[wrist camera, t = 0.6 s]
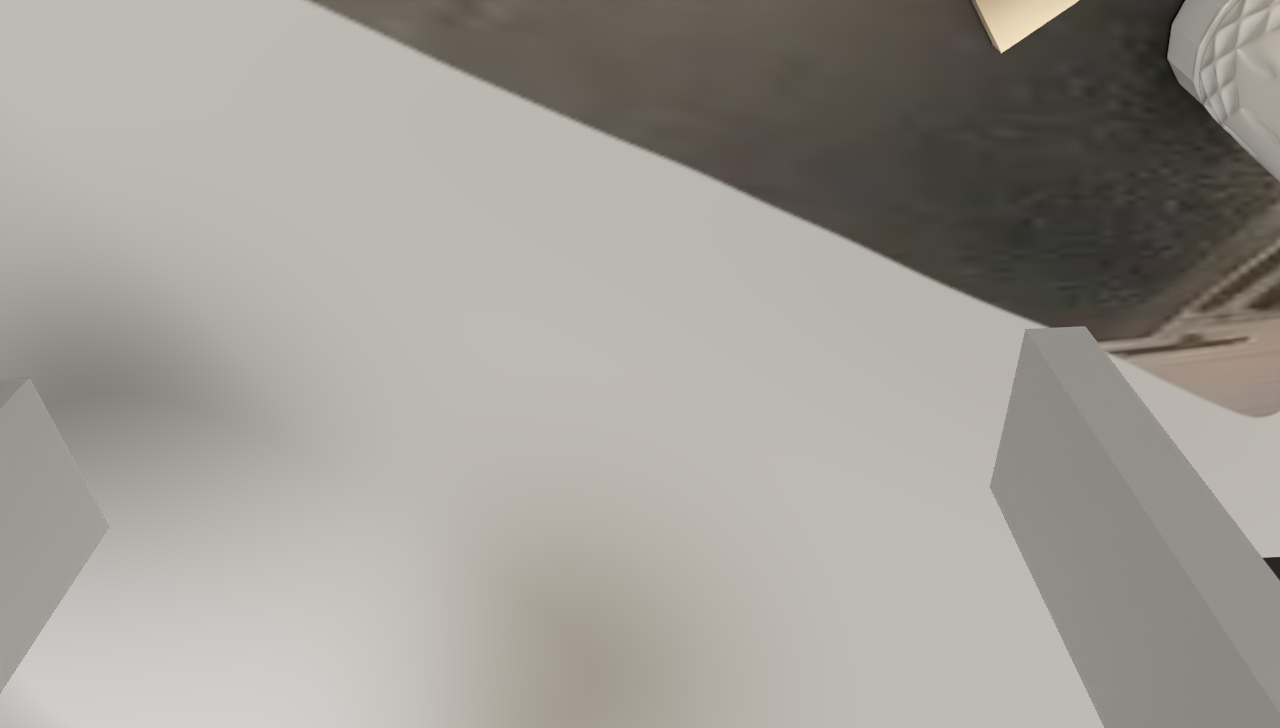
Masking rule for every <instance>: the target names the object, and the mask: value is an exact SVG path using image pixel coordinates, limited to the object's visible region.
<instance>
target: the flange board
mask: <svg viewBox="0 0 1280 728" xmlns="http://www.w3.org/2000/svg"><path fill="white" fill-rule="evenodd" d="M971 1H972V3H973V5H974V7H975V9H976V11H977V13H978V15H979V17H980V19H981V21H982V23H983V25H984V27H985V29H986V31H987V33H988V35H989V37H990V39H991V41H992V44H993V45H994V46H995V47H996V48H997V49H998V50H999V51H1000V52H1001V53H1002V52H1004V51H1005V50H1007V49H1008V48H1010V47H1011V46H1013V45H1014V44H1016V43H1017V42H1019V41H1020V40H1022V39H1023V38H1025V37H1026V36H1027V35H1029V34H1030V33H1032V32H1033V31H1035V30H1036V29H1038V28H1039V27H1041V26H1042V25H1044V24H1045V23H1047V22H1048V21H1050V20H1051V19H1053V18H1054V17H1056V16H1057V15H1058V14H1060V13H1061V12H1063V11H1064V10H1066V9H1067V8H1069V7H1070V6H1072V5H1073V4H1075V3H1076V2H1078V1H1079V0H971Z"/></svg>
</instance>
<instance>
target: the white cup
mask: <svg viewBox="0 0 1280 728" xmlns="http://www.w3.org/2000/svg"><path fill="white" fill-rule="evenodd" d="M1167 59H1168V61H1169V63H1170V65H1171V68H1172V70H1173V72H1174V74H1175V76H1176V78H1177V80H1178V82H1179V84H1180V85H1181V86H1182V87H1184V88H1185V89H1186V90H1187V91H1188V92H1189V93H1190V94H1191V95H1192V96H1193V97H1195V98H1196V99H1197V100H1198V101H1199V102H1200V103H1201V104H1202V105H1203V106H1204V107H1205V108H1206V110H1207V111H1208V112H1209V113H1210V115H1211V116H1212V117H1213V118H1214V119H1215V120H1216V122H1217V123H1218V124H1219V125H1220V126H1221V127H1222V128H1224V129H1225V130H1226V131H1227V132H1228V133H1229V134H1230V135H1231V136H1232V137H1233V138H1234V139H1235V140H1236V141H1237V142H1238V144H1239V145H1240V146H1241V147H1242V148H1243V149H1244V150H1246V151H1247V152H1248V153H1249V154H1250V155H1251V156H1252V157H1253V158H1254V159H1255V160H1256V161H1257V162H1258V163H1259V164H1261V165H1262V166H1263V167H1264V168H1265V169H1266V170H1267V171H1268V172H1269V173H1270V174H1271V175H1272V176H1273V177H1274V178H1276V179H1277V180H1278V181H1279V182H1280V0H1185V1H1184V3H1183V5H1182V7H1181V9H1180V10H1179V12H1178V14H1177V16H1176V17H1175V19H1174V21H1173V23H1172V26H1171V33H1170V40H1169V47H1168V54H1167Z"/></svg>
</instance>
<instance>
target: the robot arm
mask: <svg viewBox="0 0 1280 728" xmlns="http://www.w3.org/2000/svg"><path fill="white" fill-rule="evenodd" d="M990 488H991V490H992V493H993V495H994V497H995V499H996V501H997V503H998V505H999V507H1000V509H1001V511H1002V513H1003V516H1004V518H1005V520H1006V522H1007V524H1008V526H1009V528H1010V530H1011V532H1012V535H1013V537H1014V538H1015V541H1016V543H1017V545H1018V547H1019V549H1020V551H1021V553H1022V556H1023V558H1024V560H1025V562H1026V564H1027V566H1028V568H1029V570H1030V572H1031V574H1032V576H1033V578H1034V581H1035V583H1036V585H1037V587H1038V589H1039V591H1040V593H1041V595H1042V598H1043V600H1044V602H1045V604H1046V606H1047V608H1048V610H1049V612H1050V614H1051V616H1052V619H1053V620H1054V623H1055V625H1056V627H1057V629H1058V631H1059V633H1060V635H1061V637H1062V640H1063V642H1064V644H1065V646H1066V648H1067V650H1068V652H1069V654H1070V656H1071V658H1072V661H1073V663H1074V664H1075V667H1076V669H1077V671H1078V673H1079V675H1080V677H1081V679H1082V682H1083V683H1084V686H1085V688H1086V690H1087V692H1088V694H1089V696H1090V698H1091V700H1092V703H1093V704H1094V707H1095V709H1096V711H1097V713H1098V715H1099V717H1100V719H1101V721H1102V724H1103V726H1104V728H1280V557H1274V558H1273V557H1272V558H1262V557H1261V556H1260V554H1259V553H1258V552H1257V550H1256V549H1255V548H1254V546H1253V545H1252V544H1251V542H1250V541H1249V540H1248V539H1247V537H1246V536H1245V535H1244V533H1243V532H1242V531H1241V529H1240V528H1239V527H1238V526H1237V524H1236V523H1235V522H1234V520H1233V519H1232V518H1231V516H1230V515H1229V514H1228V512H1227V511H1226V510H1225V509H1224V507H1223V506H1222V505H1221V503H1220V502H1219V501H1218V499H1217V498H1216V497H1215V496H1214V494H1213V493H1212V491H1211V490H1210V489H1209V488H1208V486H1207V485H1206V484H1205V482H1204V481H1203V480H1202V478H1201V477H1200V476H1199V475H1198V473H1197V472H1196V471H1195V469H1194V468H1193V467H1192V465H1191V464H1190V463H1189V462H1188V460H1187V459H1186V457H1185V456H1184V455H1183V454H1182V452H1181V451H1180V450H1179V448H1178V447H1177V446H1176V444H1175V443H1174V442H1173V441H1172V439H1171V438H1170V437H1169V435H1168V434H1167V433H1166V431H1165V430H1164V429H1163V427H1162V426H1161V425H1160V424H1159V422H1158V421H1157V420H1156V418H1155V417H1154V416H1153V414H1152V413H1151V412H1150V411H1149V409H1148V408H1147V407H1146V405H1145V404H1144V403H1143V401H1142V400H1141V399H1140V397H1139V396H1138V395H1137V393H1136V392H1135V391H1134V390H1133V388H1132V387H1131V386H1130V384H1129V383H1128V382H1127V380H1126V379H1125V378H1124V377H1123V375H1122V374H1121V373H1120V371H1119V370H1118V369H1117V367H1116V366H1115V365H1114V363H1113V362H1112V361H1111V360H1110V358H1109V357H1108V356H1107V354H1106V353H1105V352H1104V350H1103V349H1102V348H1101V346H1100V345H1099V344H1098V342H1097V341H1096V340H1095V339H1094V337H1093V336H1092V335H1091V333H1090V332H1089V331H1088V329H1087V328H1086V327H1085V326H1083V327H1063V328H1042V329H1026V330H1025V334H1024V339H1023V343H1022V347H1021V352H1020V356H1019V361H1018V366H1017V369H1016V374H1015V379H1014V383H1013V387H1012V392H1011V396H1010V401H1009V405H1008V409H1007V414H1006V418H1005V423H1004V427H1003V432H1002V437H1001V441H1000V445H999V449H998V454H997V458H996V463H995V467H994V472H993V476H992V481H991V485H990ZM108 528H109V525H108V523H107V521H106V519H105V517H104V516H103V514H102V512H101V510H100V508H99V506H98V504H97V502H96V501H95V499H94V497H93V495H92V493H91V491H90V489H89V487H88V486H87V484H86V482H85V480H84V478H83V476H82V475H81V473H80V471H79V469H78V467H77V465H76V463H75V461H74V459H73V458H72V456H71V454H70V452H69V450H68V448H67V446H66V445H65V443H64V441H63V439H62V437H61V435H60V434H59V431H58V430H57V428H56V426H55V424H54V422H53V420H52V418H51V417H50V415H49V413H48V411H47V409H46V407H45V406H44V404H43V402H42V400H41V398H40V396H39V394H38V392H37V391H36V389H35V387H34V385H33V383H32V381H31V379H30V378H10V379H0V693H1V691H2V690H3V688H4V687H5V685H6V684H7V682H8V681H9V679H10V677H11V676H12V674H13V673H14V671H15V670H16V668H17V667H18V665H19V664H20V662H21V661H22V659H23V657H24V656H25V655H26V653H27V652H28V650H29V649H30V647H31V645H32V644H33V642H34V641H35V639H36V638H37V636H38V635H39V633H40V632H41V630H42V628H43V627H44V626H45V624H46V623H47V621H48V619H49V618H50V617H51V615H52V613H53V612H54V610H55V609H56V607H57V606H58V604H59V603H60V601H61V600H62V598H63V597H64V595H65V594H66V592H67V591H68V589H69V587H70V586H71V584H72V583H73V581H74V580H75V578H76V577H77V575H78V574H79V572H80V571H81V569H82V568H83V566H84V565H85V563H86V562H87V560H88V558H89V557H90V555H91V554H92V552H93V551H94V549H95V548H96V546H97V545H98V543H99V542H100V540H101V539H102V537H103V536H104V534H105V533H106V531H107V529H108Z"/></svg>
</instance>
